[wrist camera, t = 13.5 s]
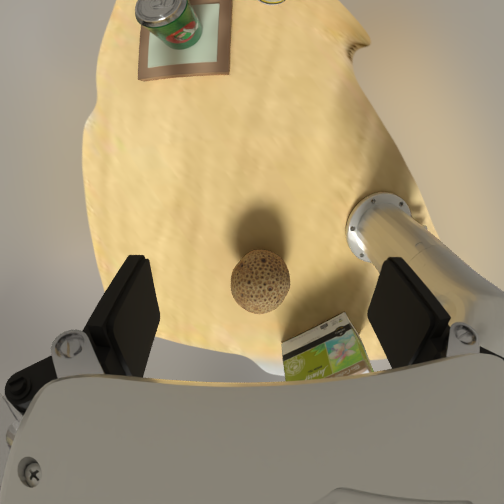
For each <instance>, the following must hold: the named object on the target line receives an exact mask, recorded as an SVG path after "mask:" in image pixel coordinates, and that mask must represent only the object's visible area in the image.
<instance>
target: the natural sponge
mask: <svg viewBox="0 0 504 504" xmlns="http://www.w3.org/2000/svg"><path fill="white" fill-rule="evenodd" d="M289 289H290V276H289V271H288V268H287V266H286V264H285V262H284V261H283V259H282V258H280V257H279V256H278V255H277V254H275V253H273V252H270V251H267V250H261V249H257V250H253V251H250V252H249V253H247V254H246V255H245V256H244V257H243V258H242V259H241V260H240V262H239V263H238V264H237V265H236V266H235V268H234V270H233V272H232V276H231V291H232V295H233V297H234V299H235V301H236V302H237V303H238V304H239V305H240V306H241V307H242V308H244V309H245V310H247V311H249V312H252V313H255V314H264V313H268V312H270V311H272V310H274V309H276V308H277V307H278V306H279V305H280V304H281V303H282V302H283V300H284V298H285V296H286V295H287V293H288V291H289Z"/></svg>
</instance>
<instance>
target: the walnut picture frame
mask: <svg viewBox="0 0 504 504" xmlns="http://www.w3.org/2000/svg"><path fill="white" fill-rule="evenodd" d="M189 1H190V3H191V5H192V7H193V9H194V11H195V13H196V16H197V18H198V20H199V22H200V24H201V26H202V35H201V38H200V39H199V41H198V42H197V43H196V44H194V45H193V46H191V47H190V48H187V49H183V50H176V49H172V48H170V47H168V46H167V45H166V44H165V43H163V42H162V41H161V40H160V39H159V38H157V37H156V36H155V35H154V34H152V33H151V32H150V31H149V30H147V29H146V28H145V27H143V26H142V25H141V32H140V45H139V63H138V80H141V81H150V80H158V79H166V78H176V77H188V76H204V75H229V71H230V43H231V21H232V0H189Z"/></svg>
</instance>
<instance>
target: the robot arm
mask: <svg viewBox="0 0 504 504" xmlns="http://www.w3.org/2000/svg"><path fill="white" fill-rule="evenodd" d="M371 200H372V201H371ZM346 240H347V243H348V246H349V248H350V249H351V251H352V252H353V253H354V255H355V256H356V257H358V258H359V259H361V260H363V261H365V262H370V263H372V264H373V265H374V266H375V268H376V269H377V270H378V272H379V273H380V275H379V278H378V281H377V285H376V288H375V291H374V294H373V297H372V300H371V303H370V306H369V309H368V313H367V315H368V319H369V321H370V323H371V325H372V327H373V329H374V331H375V333H376V335H377V338H378V340H379V342H380V344H381V346H382V348H383V350H384V352H385V354H386V356H387V359H388V361H389V363H390V365H391V367H392V369H388V370H383V371H377V372H371V373H364V374H357V375H350V376H342V377H334V378H324V379H313V380H301V381H285V382H258V383H220V382H194V381H178V380H164V379H152V378H143V375H144V371H145V368H146V364H147V361H148V357H149V354H150V351H151V347H152V343H153V340H154V337H155V334H156V331H157V328H158V324H159V321H160V311H159V307H158V302H157V297H156V293H155V288H154V283H153V278H152V272H151V267H150V262H149V259H145V257H144V255H129V256H128V257H127V259H126V260H125V262H124V263H123V265H122V266H121V268H120V269H119V271H118V273H117V274H116V276H115V277H114V279H113V280H112V282H111V284H110V285H109V287H108V288H107V290H106V291H105V293H104V295H103V296H102V298H101V300H100V301H99V303H98V305H97V307H96V308H95V310H94V312H93V313H92V315H91V317H90V319H89V320H88V322H87V324H86V326H85V327H84V330H83V331H80V330H69V331H66V332H63V333H62V334H60V335H59V336H58V337H57V338H56V339H55V340H54V341H53V343H52V346H51V354H52V356H49V357H48V358H45V359H44V360H41V361H39V362H37V363H35V364H33V365H31V366H29V367H27V368H25V369H23V370H21V371H19V372H17V373H15V374H14V375H12V376H11V377H10V378H9V379H8V381H7V383H6V386H5V395H4V396H2V395H1V394H0V504H504V292H503V291H502V290H501V289H499V288H498V287H496V286H495V285H494V284H492V283H490V282H489V281H488V280H486V279H485V278H483V277H482V276H481V275H480V274H478V273H477V272H476V271H474V270H473V269H472V268H471V267H469V266H468V265H467V264H466V263H465V262H464V261H462V260H461V259H460V258H459V257H458V256H457V255H456V254H454V253H453V252H452V251H451V250H450V249H449V248H448V247H446V246H445V245H444V244H443V243H442V242H441V241H440V240H439V239H437V238H436V237H435V236H434V235H433V234H431V233H430V232H429V231H428V230H427V226H424V225H420V224H419V223H418V222H417V221H415V220H414V219H413V218H412V216H411V211H410V209H409V207H408V205H407V204H406V202H405V201H404V200H403V199H401V198H400V197H399V196H397V195H395V194H392V193H389V192H378V193H374V194H371V195H369V196H367V197H366V198H364V199H363V200H362V201H360V202H359V203H358V204H357V205H356V207H355V208H354V209H353V211H352V212H351V214H350V216H349V219H348V221H347V226H346Z"/></svg>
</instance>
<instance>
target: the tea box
mask: <svg viewBox="0 0 504 504" xmlns="http://www.w3.org/2000/svg"><path fill="white" fill-rule="evenodd" d="M281 346H282V356H283V365H284V372H285V380H286V381H301V380H313V379H324V378H334V377H342V376H350V375H357V374H364V373H371V372H374V371H373V368H372V366H371V363H370V361H369V358H368V355H367V353H366V350H365V348H364V345H363V343H362V340H361V338H360V336H359V334H358V333H357V331H356V330H355V328H354V326H353V325H352V323H351V322H350V320H349V318H348V316H347V315H346V313H345V312H343V313H342V314H340V315H338V316H336V317H334V318H332V319H330V320H329V321H327V322H325V323H322V324H320V325H319V326H317V327H315V328H313V329H311V330H308V331H306V332H304V333H303V334H301V335H298V336H296V337H294V338H292V339H290V340H287V341H285V342H283V343H282V344H281Z"/></svg>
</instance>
